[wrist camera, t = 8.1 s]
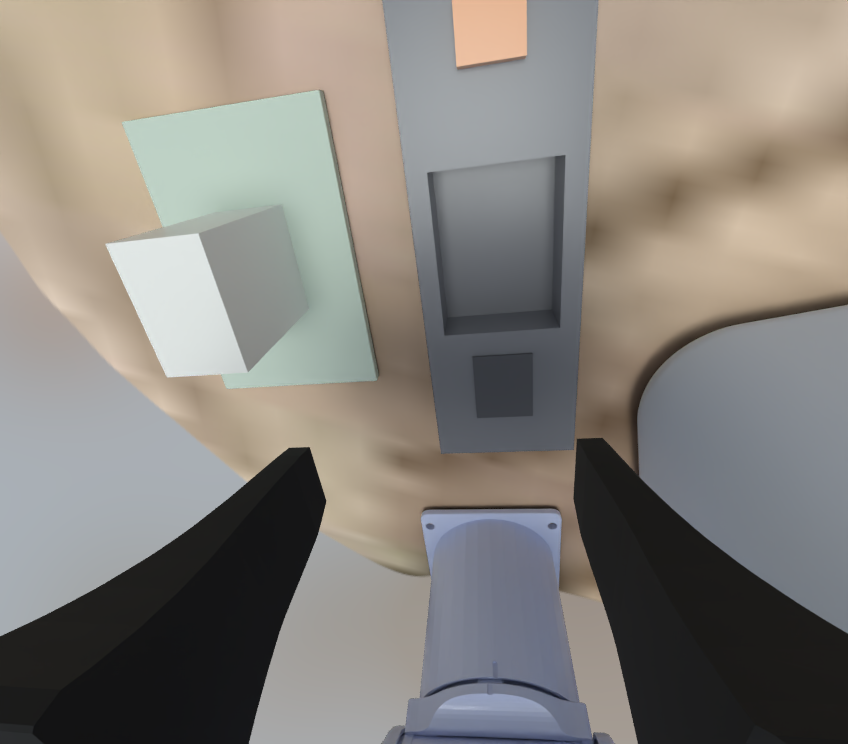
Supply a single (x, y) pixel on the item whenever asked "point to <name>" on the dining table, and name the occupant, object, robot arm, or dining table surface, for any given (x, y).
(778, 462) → the plastic bottle
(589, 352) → the dining table surface
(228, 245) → the white rectangular block
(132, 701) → the robot arm
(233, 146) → the rubber mat
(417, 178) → the grey slotted plate
